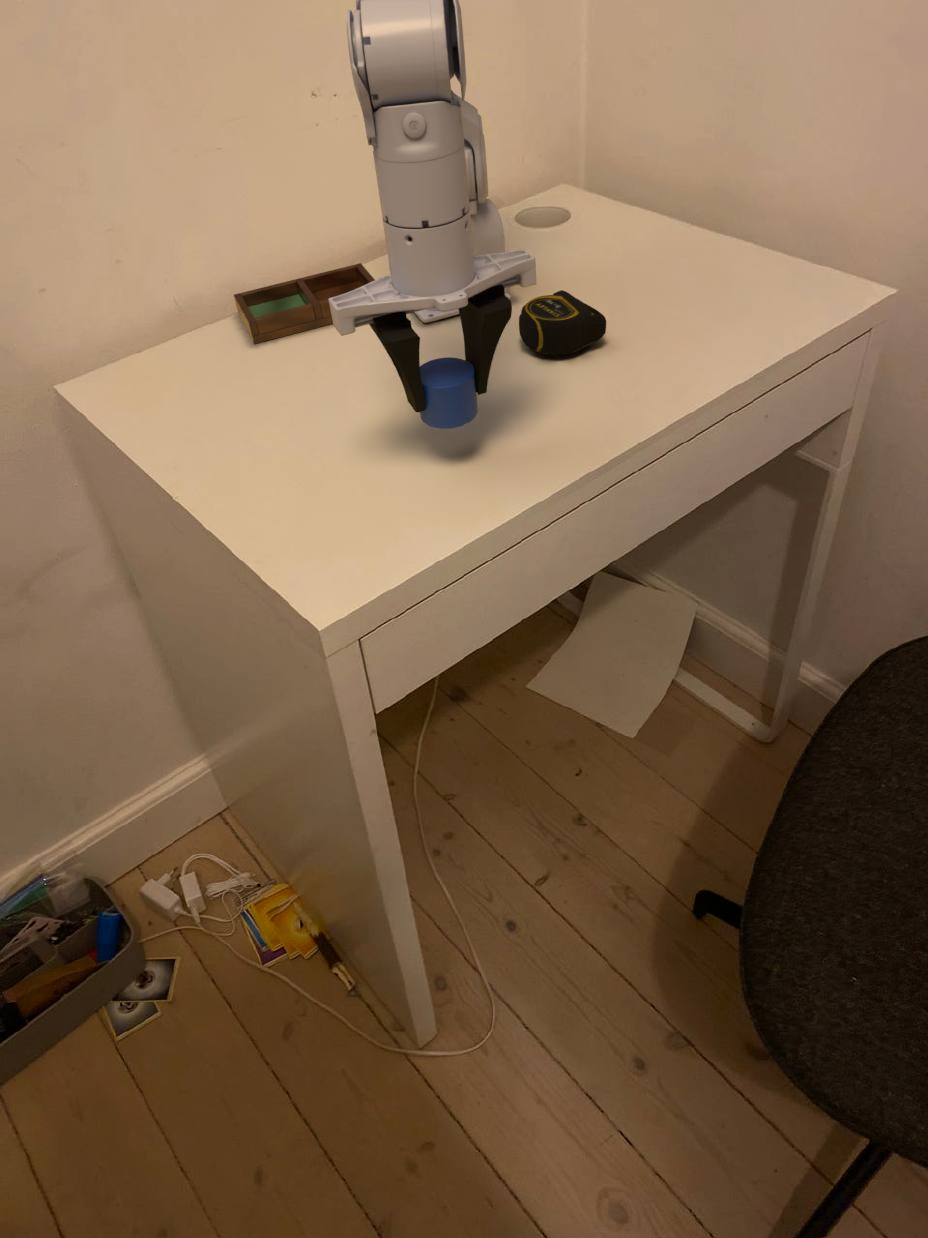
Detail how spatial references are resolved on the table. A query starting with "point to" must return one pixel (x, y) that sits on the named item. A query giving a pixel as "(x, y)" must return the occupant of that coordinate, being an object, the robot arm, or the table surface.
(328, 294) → the holder
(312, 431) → the table surface
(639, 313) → the table surface
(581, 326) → the tape measure
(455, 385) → the cylinder
